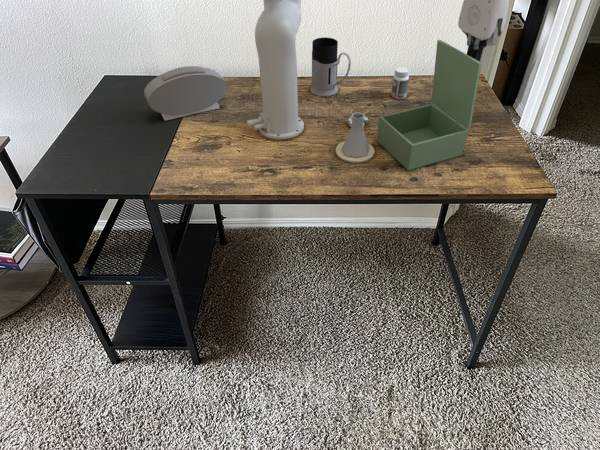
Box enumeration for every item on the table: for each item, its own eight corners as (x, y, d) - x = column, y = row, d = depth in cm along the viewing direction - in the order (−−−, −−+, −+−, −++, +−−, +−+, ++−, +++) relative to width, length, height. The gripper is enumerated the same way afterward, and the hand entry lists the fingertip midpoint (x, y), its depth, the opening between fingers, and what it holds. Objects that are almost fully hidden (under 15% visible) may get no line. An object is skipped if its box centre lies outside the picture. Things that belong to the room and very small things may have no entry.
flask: (370, 157, 114) (374, 122, 107) (342, 158, 114) (343, 122, 107) (368, 142, 119) (371, 107, 113) (340, 142, 119) (342, 108, 113)
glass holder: (323, 81, 148) (323, 34, 138) (357, 94, 141) (360, 46, 131) (304, 90, 144) (304, 42, 134) (338, 104, 136) (340, 55, 126)
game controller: (359, 132, 124) (360, 123, 123) (326, 119, 130) (326, 110, 128) (371, 124, 127) (372, 115, 126) (338, 111, 133) (339, 103, 131)
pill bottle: (408, 94, 141) (412, 67, 135) (404, 100, 137) (408, 74, 132) (393, 91, 142) (396, 65, 136) (389, 97, 139) (392, 71, 133)
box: (407, 170, 111) (412, 145, 106) (376, 140, 121) (379, 116, 116) (462, 155, 115) (468, 130, 110) (427, 127, 126) (432, 103, 121)
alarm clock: (224, 98, 141) (218, 57, 132) (230, 106, 137) (225, 65, 128) (149, 114, 134) (138, 73, 125) (153, 124, 129) (142, 82, 121)
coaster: (346, 166, 112) (346, 164, 112) (329, 146, 119) (329, 144, 119) (381, 157, 115) (381, 155, 115) (362, 138, 122) (362, 136, 122)
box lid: (479, 63, 98) (481, 62, 98) (437, 40, 109) (439, 39, 109) (467, 129, 110) (470, 128, 110) (431, 102, 120) (433, 102, 121)
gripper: (455, -28, 99) (439, 55, 112) (503, -11, 89) (480, 79, 101) (483, -32, 101) (464, 50, 114) (532, -16, 91) (506, 72, 103)
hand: (472, 63), depth 108 cm, fingers closed
